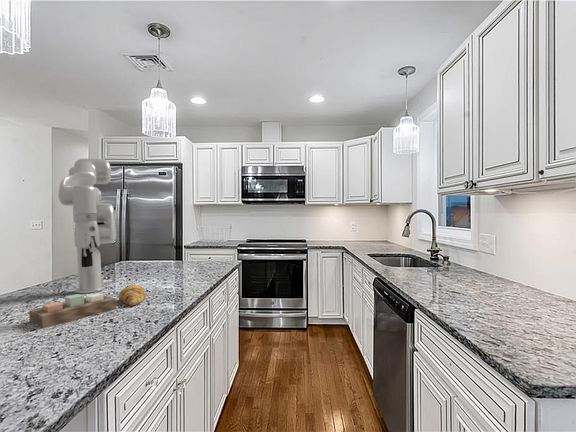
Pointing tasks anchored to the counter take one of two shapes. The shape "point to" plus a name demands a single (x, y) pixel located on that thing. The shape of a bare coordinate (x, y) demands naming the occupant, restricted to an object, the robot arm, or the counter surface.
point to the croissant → (132, 295)
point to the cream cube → (94, 297)
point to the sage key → (74, 300)
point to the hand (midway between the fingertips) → (87, 266)
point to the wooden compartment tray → (71, 312)
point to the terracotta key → (52, 307)
